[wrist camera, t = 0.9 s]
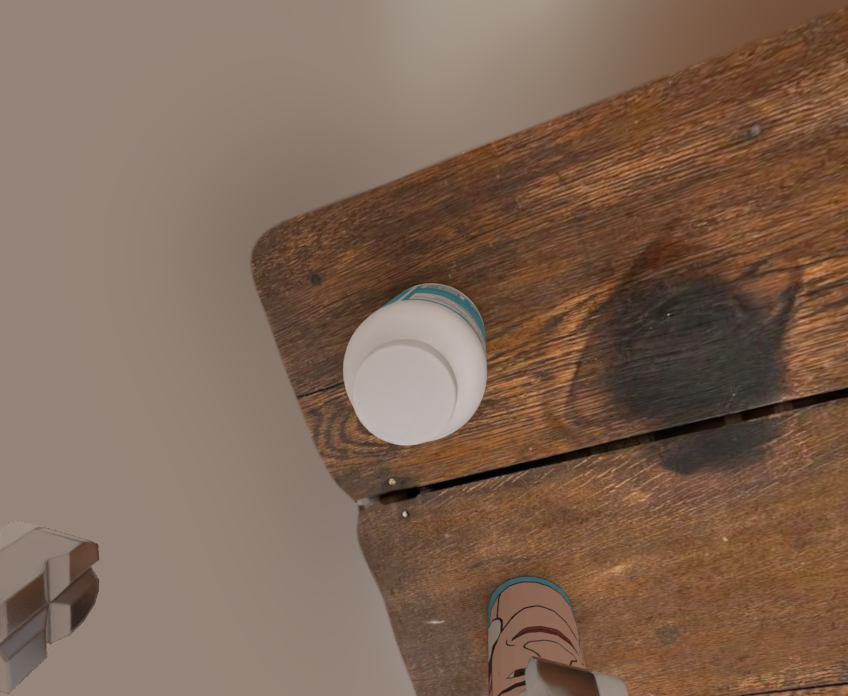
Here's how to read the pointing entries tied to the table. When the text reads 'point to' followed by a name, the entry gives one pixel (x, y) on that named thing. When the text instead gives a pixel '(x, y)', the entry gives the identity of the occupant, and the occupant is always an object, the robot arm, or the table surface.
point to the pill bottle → (417, 365)
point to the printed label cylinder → (528, 631)
